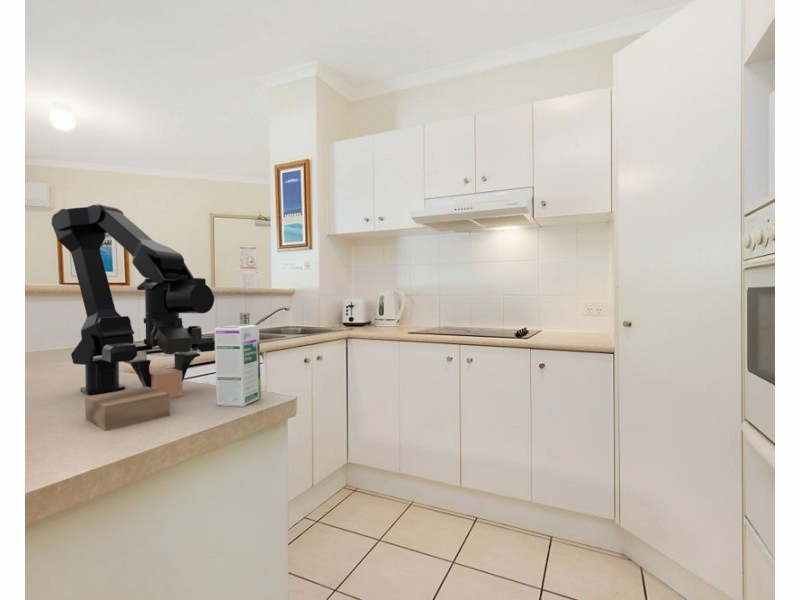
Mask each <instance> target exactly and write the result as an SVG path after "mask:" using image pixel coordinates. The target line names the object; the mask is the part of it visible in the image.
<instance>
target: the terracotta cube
mask: <svg viewBox="0 0 800 600" xmlns="http://www.w3.org/2000/svg"><path fill="white" fill-rule="evenodd" d="M149 371H150V380H151V388H153V389H156V390H159V391H162V392H166V393H169V394H170V399H172V398H179V397H182V396H183V382H182V371H181V370H177V369H175V368H173V367H170V368H163V369H156V370H149Z"/></svg>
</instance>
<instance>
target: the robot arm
mask: <svg viewBox="0 0 800 600" xmlns="http://www.w3.org/2000/svg"><path fill="white" fill-rule="evenodd" d="M51 225H52V228H53V231H54V233H55V236H56V238H57V241H58V242H59V243H60V244H61V245H62V246H63V247H64V248H65V249H67V251H69V252H70V255H71V257H72V262H73V266H74V270H75V273H76V277H77V282H78V287H79V290H80V293H81V297H82V301H83V305H84V308H85V309H84V310H85V314H86V319H85V321H84V323H83V325H82V327H81V329H80V334H81V336H80V337H81V340H80V341H79V343H78V344H77V345H76V347H75V348H74V350H73V351H72V353H71V354H70V356H71V360H72V364H74V365H83V366H84V368H85V369H84V370H85V371H84V372H85V373H84V374H85V375H84V376H85V377H84V378H85V386H84V387H80V388H79V391H81V392H83V393H84V394H86V395H94V394H101V393H102V394H103V393H106V392H107V393H109V392H112V391H114V392H115V391H121V390H124V389H125V390H126V386H125V385H124V384H120V363H122V362H123V363H125V364H129V365H130V366H131V368H133V371H135V373H136V375H137V377H138V379H139V381H140V383H141V385H142V387H150V388H151V380H150V371H151V370H150V366H151V359H147V355H153V354H161V353H163V354H165V355H173V354H174V369H177V370H181V371H182V383H183V382H184V379H185V377H186V374H187V371H188V369H189V367H190V365H191V363H192V362H193V361H194V359H195V358H197V357H200V356H201V353H205V352H206V353H208V352H213V351H214V352H215V338H213V337H212V336H203V335H202V334H203V333H202V331H203V330H202V327H201V326H200V325H190V326H188V327H184V326H183V318H182V317H180V314H206V313H208V312H210V311H211V309H212V308H213V307H214V303H215V295H214V293H213V291H212V289H211V288H210V287H209V285H207V283H206V278H201V277H194V276H193V274H192V273H191V271H190V269H189V268H188V266H187V265H186V262H185V258H184V257H183V255H182V254H181V253H180V252H178V251H176V250H175V249H173V248H171V247H169V246H167V245H164V244H161V243H159V242H157V241H155V240H153V239H152V238H151V237H150V236H149V235H147V234H146V233H145V232H144V231H143V230H142V229H141V228H139V227H138V226H137V225H136V224H135V223H134V222H133V221H131V220H130V218H128V217H127V216H126V215H124V212H123V211H122V210H121V209H119V208H118V207H114V206H108V205H104V204H99V203H98V204H92V205H90V206H84V207H74V208H73V207H72V208H67V209H66V208H62V209H60V210H59V211H58V212H55V213H53V215H52V217H51ZM106 234H108V235H109V236H110V237H111V238H112V239H113V240H115V241H116V242H117V243H118V244H119V245H120V246H121V247H123V249H125V250H126V252H128V254H130V255H131V258H132V261H131V262H132V265H133V266H134V267H135V269H136V270H137V272H138V273H139V274H140V275H141V276H142V277H143V278H145V279H144V280H143V282H141V283H140V284H138V286H137V287H136V290H138V291H144V296H145V297H144V298H145V301H144V302H145V304H144V305H145V306H144V307H145V313H144V314H145V318H144V317H143V324H145V338H144V339H143V345H142V344H141V345H136V344H135V343H134V334H135V331H134V330H133V327H132V321H131V319H130V317H129V316H128V315H126V316H125V315H124V316H123V315H121V314H119V312H117V309H116V307H115V303H114V298H113V294H112V291H111V287H110V284H109V283H110V282H109V280H108V275H107V271H106V268H105V264H104V260H103V256H102V253H101V248H102V246H103V243H104V242H105V240H106V239H107V238H106ZM198 351H199V352H200V353H198Z"/></svg>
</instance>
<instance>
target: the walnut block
mask: <svg viewBox="0 0 800 600" xmlns="http://www.w3.org/2000/svg"><path fill="white" fill-rule="evenodd" d="M170 399H171V398H170V394H169V393H166V392H162V391H159V390H156V389H153V388H150V387H143V386H142V387H137V388H131V389H125V390H124V389H123V390H118V391H114V392H107V393H102V394H97V395H90V396H86V397H84V406H85V408H84V409H85V410H84V411H85V413H84V414H85V417H84V418H85V421H87V422H89V423H90V424H92V425H94V426H96V427H98V428H99V429H101V430H102V431H104V432H107V431H112V430H115V429H116V430H117V429H120V428H124V427H127V426H131V425H136V424H141V423H145V422H149V421H150V422H151V421H153V420H156V419H161V418H165V417H169V416H170V415H171V408H170V407H171V403H170V402H171V401H170Z"/></svg>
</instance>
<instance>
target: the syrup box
mask: <svg viewBox="0 0 800 600" xmlns="http://www.w3.org/2000/svg"><path fill="white" fill-rule="evenodd" d="M213 331H214V340H215V351H214V356H215V388H216V391H215V393H216V405H217V406H221V407H224V406H225V407H239V408H240V407H242V408H244V407H246V406H247V405H249V404H251V403H253V402H255V401H258V400H261V398H262V383H261V382H262V381H261V351H260V349H261V348H260V325H259V324H251V323H249V324H248V323H246V324H245V323H243V324H233V325H225V326H218V327H215V328H214V330H213Z"/></svg>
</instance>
